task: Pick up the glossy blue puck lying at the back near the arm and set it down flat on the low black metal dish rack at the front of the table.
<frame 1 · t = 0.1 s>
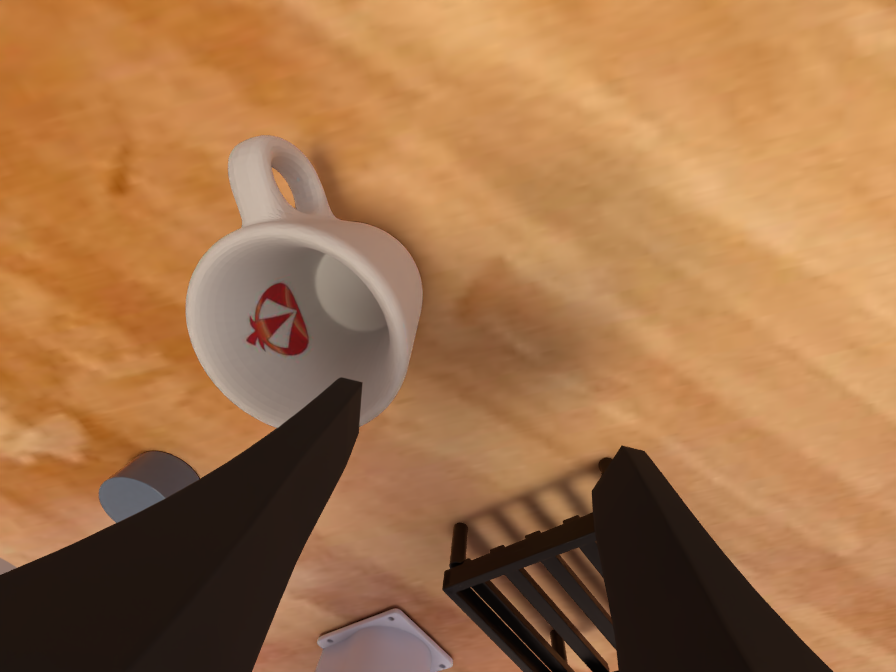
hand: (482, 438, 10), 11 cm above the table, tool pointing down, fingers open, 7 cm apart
cup: (357, 257, 20), on the table
glossy blue puck: (167, 480, 28), on the table
rack: (578, 559, 26), on the table
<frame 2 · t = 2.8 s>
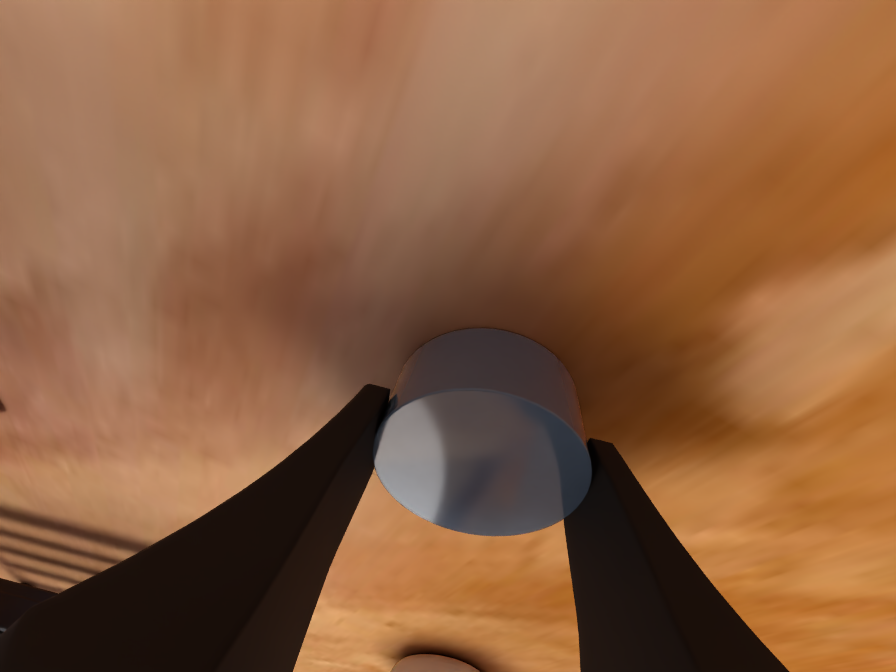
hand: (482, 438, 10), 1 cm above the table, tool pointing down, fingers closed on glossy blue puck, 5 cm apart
glossy blue puck: (484, 403, 12), on the table, touching gripper
rack: (86, 572, 24), on the table
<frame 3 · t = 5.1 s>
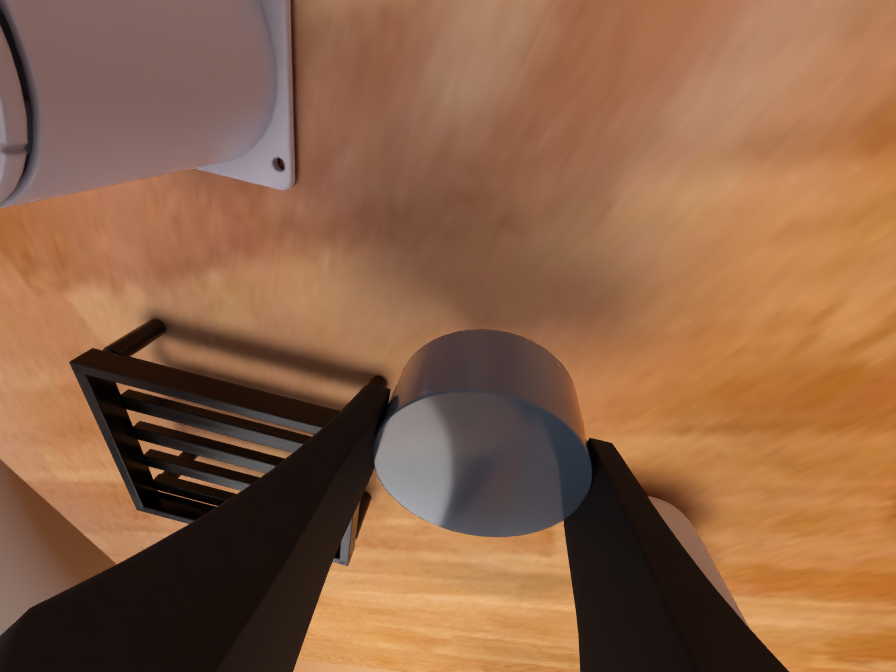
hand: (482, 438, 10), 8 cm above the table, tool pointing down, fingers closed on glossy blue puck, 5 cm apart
cup: (644, 524, 24), on the table
glossy blue puck: (484, 404, 12), point 7 cm above the table, touching gripper
rack: (274, 421, 24), on the table
when the fingers open (5 cm above the table, at t = 7.8 s): glossy blue puck stays where it is, resting on rack.
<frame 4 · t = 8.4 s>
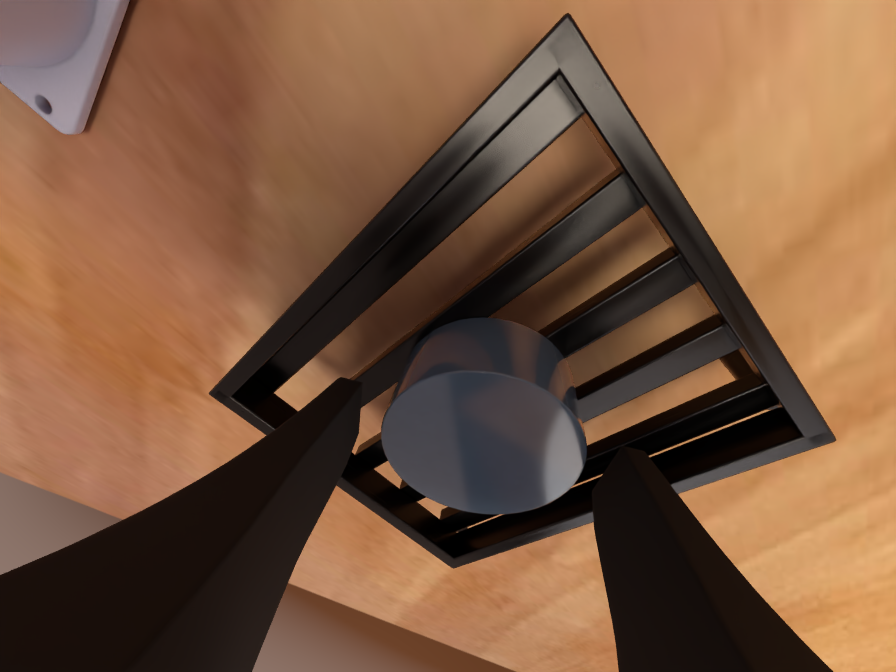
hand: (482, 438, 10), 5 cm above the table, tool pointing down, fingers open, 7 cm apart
glossy blue puck: (485, 390, 12), point 3 cm above the table, touching rack
rack: (492, 336, 15), on the table
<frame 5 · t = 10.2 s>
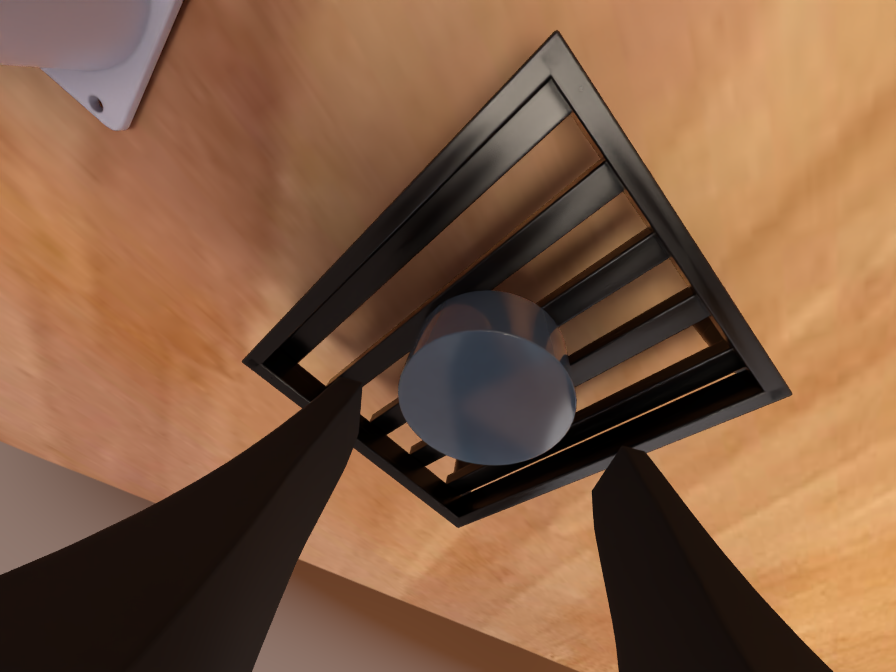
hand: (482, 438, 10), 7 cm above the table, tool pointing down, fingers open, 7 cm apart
glossy blue puck: (488, 357, 14), point 3 cm above the table, touching rack
rack: (493, 313, 17), on the table
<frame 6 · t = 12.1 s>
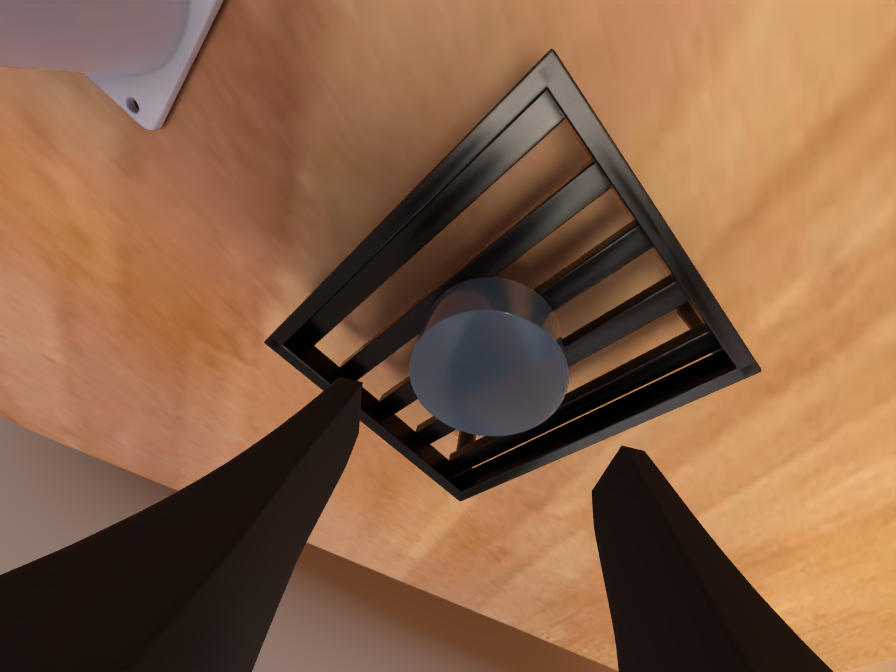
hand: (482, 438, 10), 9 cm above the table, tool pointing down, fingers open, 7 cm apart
glossy blue puck: (490, 339, 15), point 3 cm above the table, touching rack
rack: (494, 302, 18), on the table
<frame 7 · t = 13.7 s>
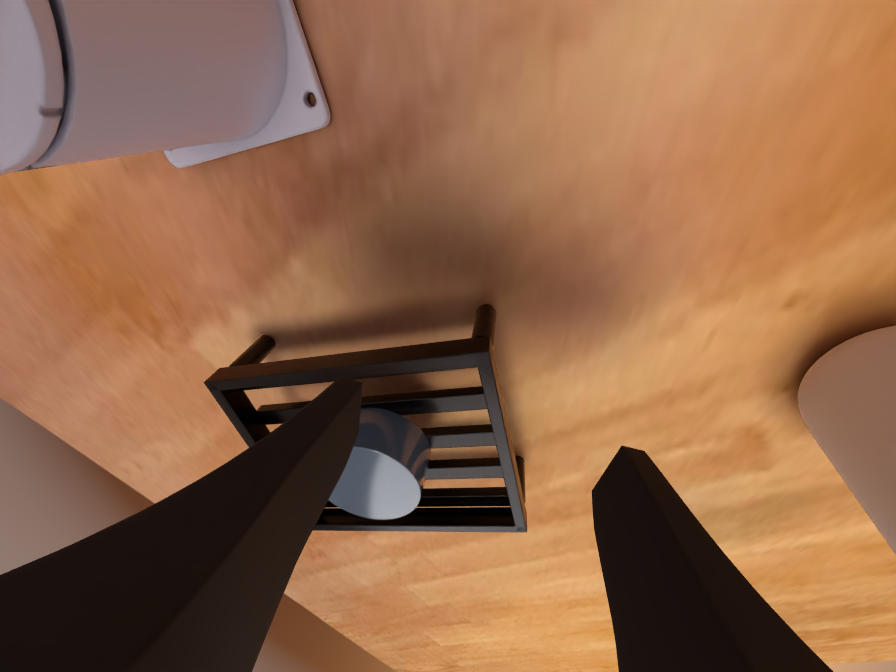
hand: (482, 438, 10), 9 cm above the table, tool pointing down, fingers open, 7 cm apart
glossy blue puck: (381, 445, 20), point 3 cm above the table, touching rack
rack: (398, 403, 23), on the table
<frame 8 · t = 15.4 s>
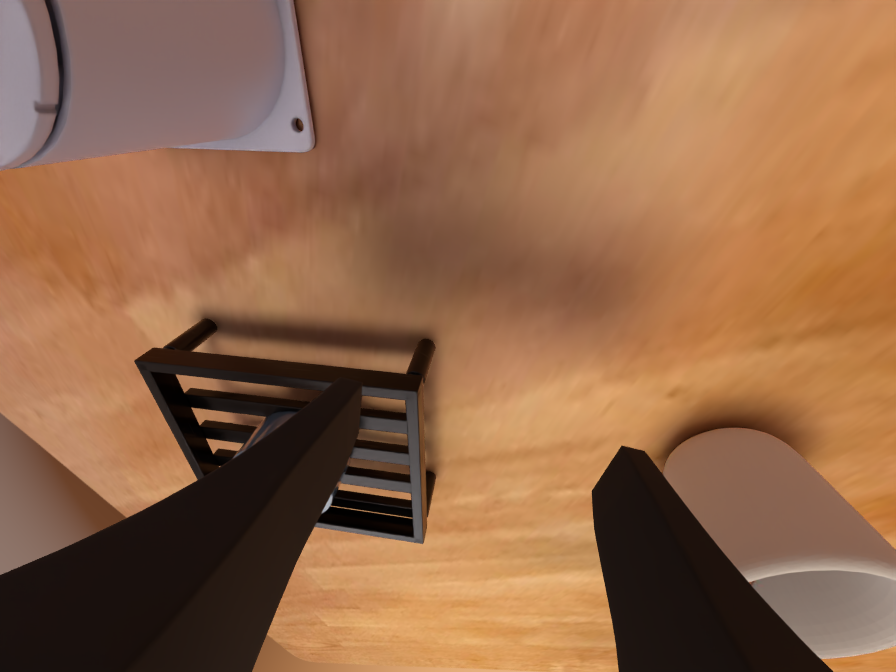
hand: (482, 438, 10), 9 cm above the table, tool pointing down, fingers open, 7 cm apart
cup: (738, 465, 22), on the table
glossy blue puck: (304, 446, 22), point 3 cm above the table, touching rack
rack: (329, 407, 24), on the table
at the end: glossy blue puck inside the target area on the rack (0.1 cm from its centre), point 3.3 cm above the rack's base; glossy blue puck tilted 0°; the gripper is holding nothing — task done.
